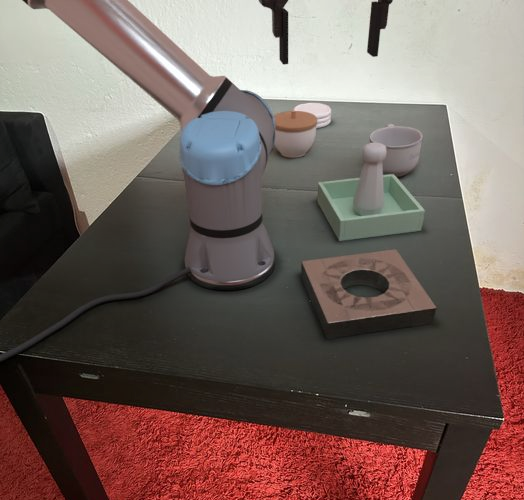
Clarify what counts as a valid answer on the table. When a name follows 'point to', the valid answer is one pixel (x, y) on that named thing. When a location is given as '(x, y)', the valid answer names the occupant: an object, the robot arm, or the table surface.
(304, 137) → the trinket box
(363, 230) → the green square tray
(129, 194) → the table surface
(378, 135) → the teacup
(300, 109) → the coaster
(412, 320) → the drain plate
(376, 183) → the salt shaker
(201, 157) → the robot arm
